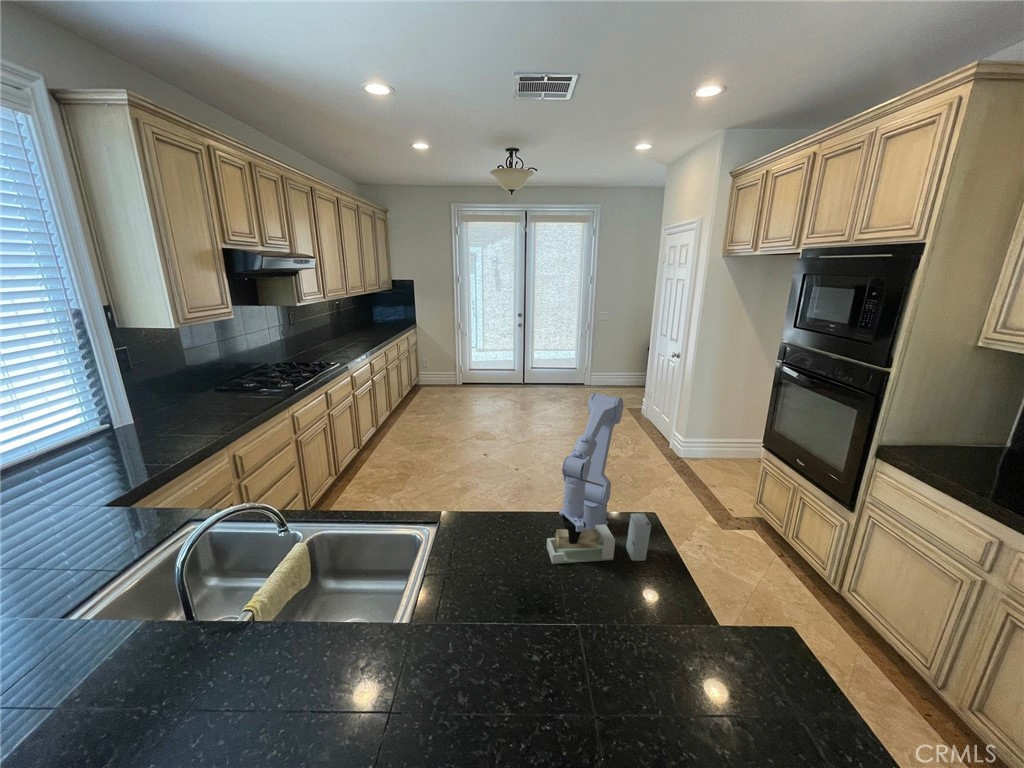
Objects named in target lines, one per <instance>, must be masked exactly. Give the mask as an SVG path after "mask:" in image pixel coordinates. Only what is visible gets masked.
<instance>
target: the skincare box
mask: <svg viewBox="0 0 1024 768" xmlns="http://www.w3.org/2000/svg"><path fill="white" fill-rule="evenodd" d="M629 518H630V519H629V525H628V530H627V532H628V533H627V538H626V539H627V540H626V544H625V548H626V551H627V553H628V556H629V559H630V560H632V561H636V562H640V561H641V562H642V561H646V559H647V553H648V548H649V542H650V536H651V535H650V534H651V531H652V524H651V523H650V521H649V519H648V517H647V515H646V514H645V513H643V512H642V513H641V512H640V513H637V512H636V513H630V517H629Z"/></svg>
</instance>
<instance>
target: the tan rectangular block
mask: <svg viewBox="0 0 1024 768" xmlns="http://www.w3.org/2000/svg"><path fill="white" fill-rule="evenodd" d="M555 530H556V532H555V537H554V538H555V543H556V545H557V548H558V549H589V548H598V543H599V535H598V533H597V531H596V529H584V531H582V532H581V534H580V537H579V539H578V542H577V544H570V543H569V536H568V529H565V528H564V529H562V528H561V529H560V528H559V529H558V528H557V529H555Z"/></svg>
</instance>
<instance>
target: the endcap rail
mask: <svg viewBox="0 0 1024 768" xmlns="http://www.w3.org/2000/svg"><path fill="white" fill-rule="evenodd" d="M595 529H596V531H597V533H598V535H599V543H598V548H589V549H558V548H557V545H556V543H555V537H549V538H548V537H547V538H546V548H547V549H546V550H547V551H548V552H547V553H548V556H549V558H550V560H551V561H550V562H551V564H552V565H557V564H572V563H585V562H599V561H601V562H602V561H613V560H614V557H615V545H616V538H615V537H614V536H613V534H612V531H610V529H609V527H608V525H606V524H605V525H595Z"/></svg>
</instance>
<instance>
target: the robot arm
mask: <svg viewBox="0 0 1024 768" xmlns="http://www.w3.org/2000/svg"><path fill="white" fill-rule="evenodd" d="M587 407H588V413H589V418H588V421H587V423H586V425H585V430H584V433H583V434H580V435H578V437H577V440H576V442H575V444H574V447H573V448H572V450H571V453H570V455H569V456H566V457H565V458H564V460H563V463H562V468H561V472H562V475H563V477H562V478H563V479H562V480H563V481H564V493H563V499H562V503H563V505H562V508H561V509H559V510H558V512H559V515H560V516H561V518H562V520H563V525H564V529H568V536H569V543H570V544H577V542H578V539H579V537H580V534H581V532H582V531H584V529H595V525H605V524H606V526H608V524H609V520H607V515H608V513H607V512H608V503H609V501H610V498H611V487H612V482H611V480H610V479H609V478H608V477H607V476H606V474H605V471H606V466H607V461H608V456H609V452H610V451H609V450H610V446H611V440H612V435H613V431H614V428H615V425H618V424H620V423H621V420H622V418H623V417H622V416H623V412H624V411H623V410H624V400H623V398H622V397H620V396H619V397H617V396H611V395H605V394H598V393H596V392H593V393H592V394H590V396H589V399H588V403H587Z"/></svg>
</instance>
